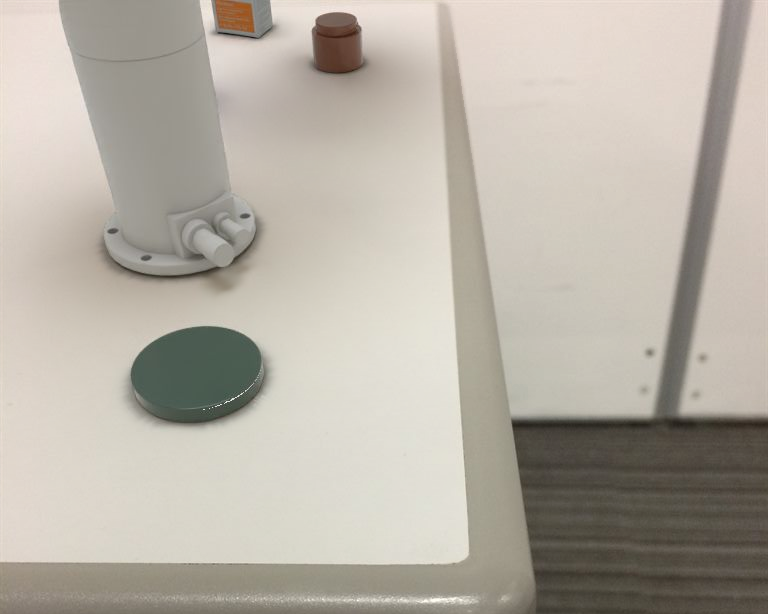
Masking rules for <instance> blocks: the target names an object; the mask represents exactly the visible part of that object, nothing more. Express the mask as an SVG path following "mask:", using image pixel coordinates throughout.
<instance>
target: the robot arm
mask: <svg viewBox="0 0 768 614" xmlns="http://www.w3.org/2000/svg"><path fill="white" fill-rule="evenodd" d="M58 10H59V16H60V19H61V20H60V21H61V25H62V29H63V32H64V36H65V40H66V43H67V46H68V49H69V51H70V55H71V59H72V62H73V66H74V70H75V73H76V76H77V80H78V84H79V87H80V91H81V94H82V98H83V101H84V104H85V107H86V111H87V115H88V118H89V122H90V125H91V128H92V132H93V136H94V139H95V142H96V147H97V150H98V153H99V156H100V160H101V162H102V163H101V164H102V167H103V170H104V174H105V177H106V181H107V185H108V188H109V191H110V195H111V198H112V201H113V205H114V208H115V209H114V210H115V212H114V213H113V214H112V215H111V217H110V218H109V219H108V220H107V222H106V224H105V227H104V229H103V239H104V243H105V246H106V249H107V252H108V254H109V256H110V257H111V259H113V260H114V261H115V262H116V263H118V264H119V265H121V266H122V267H124V268H127V269H129V270H131V271H133V272H137V273H141V274H146V275H151V276H152V275H153V276H163V277H164V276H182V275H190V274H196V273H200V272H204V271H208V270H211V269H213V268H216V267H219V268H226V267H228V266H230V265H231V264H232V263H233V261H234V258H236V257H238V256H239V255H241V254H242V253H243V252H244V251H245V250H246V249H247V248H248V247H249V246H250V244H251V243H252V241H253V240H254V239H255V235H256V232H257V225H256V224H257V223H256V219H255V213H254V210H253V208H251V207H252V206H250V204H249V203H248V202H246V201H245V200H244V199H243V198H241V197H239V196H238V195H236V194H234V193H233V191H232V186H231V184H232V183H231V179H230V173H229V168H228V161H227V156H226V150H225V143H224V138H223V137H224V136H223V133H222V125H221V119H220V113H219V108H218V107H219V106H218V101H217V96H216V91H215V83H214V78H213V72H212V66H211V59H210V55H209V49H208V42H207V37H206V36H207V35H206V30H205V26H204V20H203V13H202V6H201V2H200V0H58Z"/></svg>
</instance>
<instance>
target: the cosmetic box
mask: <svg viewBox="0 0 768 614" xmlns="http://www.w3.org/2000/svg"><path fill="white" fill-rule="evenodd" d="M210 1H211V8H212V15H213V22H214V28H215V32H217V33H225V34H233V35H239V36H246V37H252V38H255V39H259V38H260V37H261V36H263V35H265V34H266V33H267V31H269V30H270V29H271V28H273V26H274V25H273V14H272V5H271V4H272V3H271V0H210Z"/></svg>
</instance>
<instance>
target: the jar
mask: <svg viewBox="0 0 768 614" xmlns="http://www.w3.org/2000/svg"><path fill="white" fill-rule="evenodd" d="M314 21H315V23H314V24H315V25H314V26H313V27H312V28H311V42H312V43H311V44H312V55H313V57H312V58H313V66H314V67H315V68H316V69H317V70H319V71H322V72H326V73H330V74H331V73H335V74H336V73H337V74H338V73H340V74H341V73H342V74H343V73H348V72H352V71H355V70H357V69H359V68H361V67H362V65H363V64H364V54H363V28H362V26H361V25H360V24H359V21H358V19H357V16H355V14H352V13H349V12H343V11H335V12H326V13H323V14H321V15H318V16H316V18H315V20H314Z"/></svg>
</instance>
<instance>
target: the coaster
mask: <svg viewBox="0 0 768 614" xmlns="http://www.w3.org/2000/svg"><path fill="white" fill-rule="evenodd" d="M261 367H262V368H261ZM260 370H261V371H260ZM264 370H265V369H264V363H263V357H262V353H261V350H260V348H259V347H258V346H257V344H256V343H255V341H253V339H251V338H250V337H248V336H247V335H246V334H244V333H242V332H241V331H237V330H235V329H232V328H229V327H223V326H217V325H199V326H191V327H185V328H181V329H177V330H174V331H171V332H169V333H166V334H164V335H161V336H160V337H158V338H156V339H154V340H153V341H151V342H150V343H148V344H147V345H146V346H145V347H144V348H143V349H142V350H141V351H140V352H139V353H137V355H136V357H135V359H134V360H133V363H132V365H131V368H130V374H129V375H130V382H131V385H132V388H133V391H134V395H135V398H136V400H137V401H138V403H139V404H140V405H141V407H143V408H144V409H145V410H146V411H147V412H149V413H150V414H152V415H154V416H156V417H158V418H161V419H164V420H167V421H171V422H178V423H198V422H199V423H200V422H207V421H210V420H215V419H219V418H222V417H225V416H227V415H230V414H231V413H233V412H236V411H237V410H239V409H241V408H243V406H245V405H246V404H248V403H249V402H250V401H251V400H252V399H253V398H254V397H255V395H257V393H258V392H259V391H260V389H261V387H262V384H263V381H264V375H265V373H264V372H265V371H264ZM259 373H260V374H259ZM258 375H259V376H258ZM257 377H258V378H257ZM256 379H257V380H256ZM255 380H256V381H255ZM253 383H254V384H253ZM252 384H253V385H252ZM251 385H252V386H251ZM250 386H251V387H250ZM249 387H250V388H249ZM248 388H249V389H248ZM247 389H248V390H247ZM245 390H247V391H246V392H245ZM243 392H244V393H243ZM241 393H243V394H242V395H240V394H241ZM238 395H240V396H239V397H237V396H238ZM235 397H237V398H235ZM232 398H235V399H234V400H232V401H230V400H231V399H232ZM226 401H230V402H227V403H225V402H226ZM224 403H225V404H224ZM220 404H222V405H220ZM217 405H220V406H217ZM215 406H217V407H215ZM212 407H213V408H212ZM209 408H210V409H209ZM203 409H205V410H203Z"/></svg>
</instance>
